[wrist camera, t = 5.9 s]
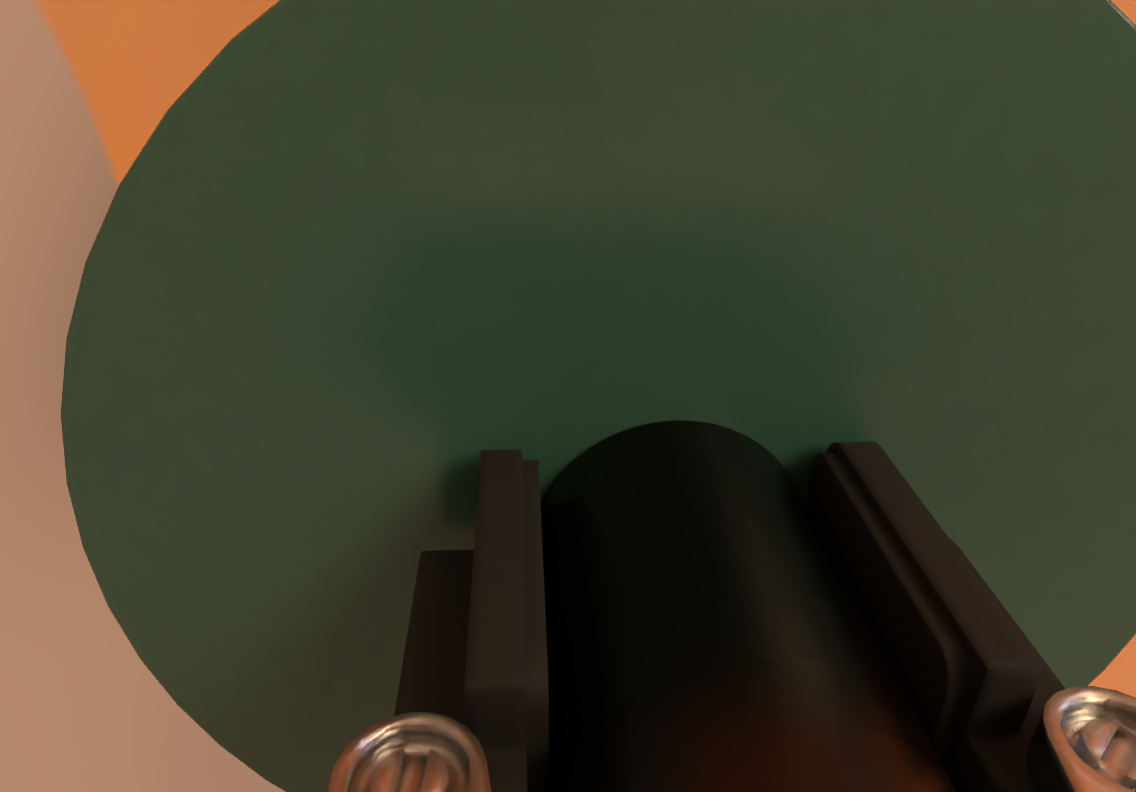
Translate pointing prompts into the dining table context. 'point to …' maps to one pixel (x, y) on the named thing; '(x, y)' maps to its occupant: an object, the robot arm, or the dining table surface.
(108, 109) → the dining table surface
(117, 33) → the dining table surface
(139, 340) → the lid
